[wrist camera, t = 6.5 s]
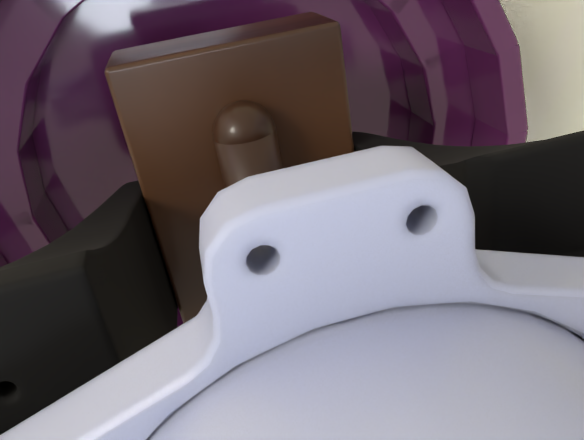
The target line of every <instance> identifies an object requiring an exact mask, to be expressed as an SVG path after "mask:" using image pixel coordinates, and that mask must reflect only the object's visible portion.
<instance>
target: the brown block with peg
mask: <svg viewBox="0 0 584 440" xmlns="http://www.w3.org/2000/svg"><path fill="white" fill-rule="evenodd" d="M104 74H105V77H106V80H107V83H108V86H109V90H110V93H111V96H112V99H113V102H114V105H115V109H116V112H117V115H118V118H119V121H120V124H121V128H122V131H123V134H124V137H125V140H126V143H127V147H128V150H129V153H130V156H131V159H132V162H133V166H134V169H135V172H136V175H137V178H138V182H139V185H140V188H141V191H142V194H143V197H144V201H145V204H146V207H147V210H148V213H149V216H150V220H151V223H152V226H153V229H154V232H155V235H156V239H157V242H158V245H159V248H160V251H161V254H162V258H163V261H164V264H165V267H166V270H167V274H168V277H169V280H170V283H171V286H172V289H173V293H174V296H175V299H176V302H177V305H178V308H179V312H180V315H181V318H182V321H183V324H184V323H186V322H187V321H189V320H190V319H192V318H194V317H195V316H197V315H198V313H199V312H200V310H201V309H202V307H203V305H204V304H205V302H206V300H207V293H206V289H205V286H204V281H203V273H202V266H201V259H200V251H199V231H200V217H201V216H202V214H203V213H204V212H205V210H206V209H207V207H208V206H209V204H210V203H211V201H212V200H213V198H214V197H215V195H216V194H217V192H219V191H221V190H223V189H225V188H227V187H229V186H230V185H232V184H234V183H236V182H238V181H240V180H242V179H244V178H246V177H249V176H253V175H257V174H262V173H266V172H270V171H275V170H279V169H283V168H288V167H292V166H296V165H300V164H305V163H309V162H313V161H318V160H322V159H326V158H331V157H335V156H339V155H343V154H348V153H352V152H354V144H353V135H352V126H351V117H350V108H349V99H348V90H347V81H346V72H345V63H344V54H343V45H342V36H341V27H340V24H339V22H338V21H335V20H333V19H330V18H328V17H325V16H322V15H320V14H317V13H315V12H306V13H301V14H296V15H291V16H286V17H281V18H276V19H271V20H266V21H261V22H256V23H251V24H246V25H241V26H236V27H231V28H226V29H221V30H216V31H210V32H205V33H200V34H195V35H190V36H185V37H180V38H175V39H170V40H165V41H160V42H155V43H150V44H145V45H140V46H135V47H130V48H125V49H120V50H115V51H114V52H112V54H111V56H110V59H109V61H108V63H107V65H106V67H105V72H104Z"/></svg>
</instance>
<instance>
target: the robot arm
mask: <svg viewBox="0 0 584 440" xmlns="http://www.w3.org/2000/svg"><path fill="white" fill-rule="evenodd" d="M352 135H353V144H354V152H352V153H348V154H343V155H339V156H335V157H331V158H326V159H322V160H318V161H313V162H309V163H305V164H300V165H296V166H292V167H288V168H283V169H279V170H275V171H270V172H266V173H262V174H257V175H253V176H249V177H246V178H244V179H242V180H240V181H238V182H236V183H234V184H232V185H230V186H229V187H227V188H225V189H223V190H221V191H219V192H217V194H216V195H215V197H214V198H213V200H212V201H211V203H210V204H209V206H208V207H207V209H206V210H205V212H204V213H203V214H202V216H201V217H200V231H199V251H200V259H201V266H202V273H203V281H204V286H205V289H206V293H207V300H206V302H205V304H204V305H203V307H202V309H201V310H200V312H199V313H198V315H197V316H195V317H194V318H192V319H190V320H189V321H187V322H186V323H184V324H182V325H181V326H179V327H177V315H178V305H177V302H176V299H175V296H174V293H173V289H172V286H171V283H170V280H169V277H168V274H167V270H166V267H165V264H164V261H163V258H162V254H161V251H160V248H159V245H158V242H157V239H156V235H155V232H154V229H153V226H152V223H151V220H150V216H149V213H148V210H147V207H146V204H145V201H144V197H143V194H142V191H141V188H140V185H139V182H138V180H137V181H133V182H128V183H126V184H124V185H123V186H121V187H120V188H119V189H118V190H117V191H116V192H115V193H114V194H113V195H111V196H110V197H109V198H108V199H107V200H106V201H105V202H104V203H103V204H102V205H101V206H99V207H98V208H97V209H96V210H95V211H94V212H93V213H91V214H90V215H89V216H88V217H86V218H85V219H84V220H83V221H82V222H80V223H79V224H78V225H77V226H75V227H74V228H73V229H71V230H70V231H68V232H67V233H65V234H64V235H62V236H61V237H59V238H58V239H56V240H54V241H53V242H51V243H50V244H48V245H46V246H44V247H42V248H40V249H38V250H36V251H34V252H32V253H30V254H28V255H26V256H24V257H22V258H20V259H18V260H16V261H14V262H12V263H9V264H7V265H4V266H2V267H0V440H584V131H580V132H576V133H572V134H568V135H563V136H559V137H555V138H551V139H547V140H541V141H534V142H527V143H519V144H509V145H495V146H445V145H433V144H425V143H418V142H411V141H406V140H400V139H395V138H390V137H385V136H380V135H375V134H370V133H364V132H352Z"/></svg>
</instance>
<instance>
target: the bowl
mask: <svg viewBox="0 0 584 440" xmlns="http://www.w3.org/2000/svg"><path fill="white" fill-rule="evenodd" d="M306 12H315V13H317V14H320V15H322V16H325V17H328V18H330V19H333V20H335V21H338V22H339V24H340V27H341V36H342V45H343V54H344V63H345V72H346V81H347V90H348V99H349V108H350V117H351V126H352V132H364V133H370V134H375V135H380V136H385V137H390V138H395V139H400V140H406V141H411V142H418V143H425V144H433V145H445V146H495V145H509V144H519V143H526V138H527V133H528V132H527V130H528V123H527V114H526V104H525V94H524V85H523V75H522V66H521V56H520V47H519V44H518V41H517V39H516V36H515V34H514V32H513V30H512V28H511V26H510V23H509V21H508V19H507V17H506V15H505V13H504V10H503V8H502V6H501V4H500V2H499V0H0V267H2V266H4V265H7V264H9V263H12V262H14V261H16V260H18V259H20V258H22V257H24V256H26V255H28V254H30V253H32V252H34V251H36V250H38V249H40V248H42V247H44V246H46V245H48V244H50V243H51V242H53V241H54V240H56V239H58V238H59V237H61V236H62V235H64V234H65V233H67V232H68V231H70V230H71V229H73V228H74V227H75V226H77V225H78V224H79V223H80V222H82V221H83V220H84V219H85V218H86V217H88V216H89V215H90V214H91V213H93V212H94V211H95V210H96V209H97V208H98V207H99V206H101V205H102V204H103V203H104V202H105V201H106V200H107V199H108V198H109V197H110V196H111V195H113V194H114V193H115V192H116V191H117V190H118V189H119V188H120V187H121V186H123V185H124V184H126V183H128V182H133V181H137V180H138V178H137V175H136V172H135V169H134V166H133V162H132V159H131V156H130V153H129V150H128V147H127V143H126V140H125V137H124V134H123V131H122V128H121V124H120V121H119V118H118V115H117V112H116V109H115V105H114V102H113V99H112V96H111V93H110V90H109V86H108V83H107V80H106V77H105V74H104V72H105V67H106V65H107V63H108V61H109V59H110V56H111V54H112V52H114V51H115V50H120V49H125V48H130V47H135V46H140V45H145V44H150V43H155V42H160V41H165V40H170V39H175V38H180V37H185V36H190V35H195V34H200V33H205V32H210V31H216V30H221V29H226V28H231V27H236V26H241V25H246V24H251V23H256V22H261V21H266V20H271V19H276V18H281V17H286V16H291V15H296V14H301V13H306ZM182 324H183V321H182V318H181V315H180V312H179V308H178V315H177V327H179V326H181V325H182Z"/></svg>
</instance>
